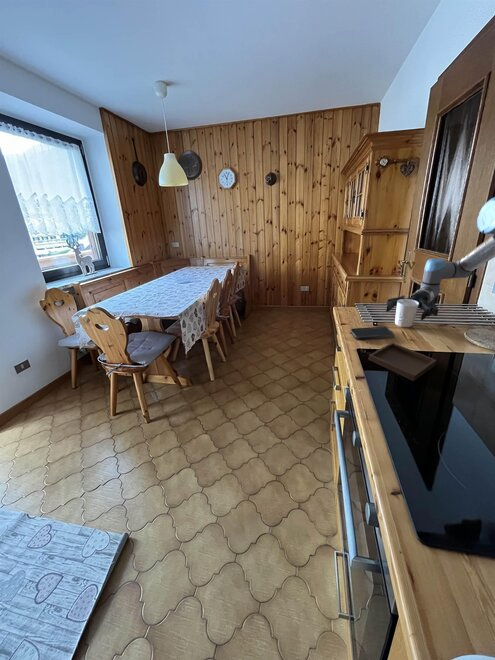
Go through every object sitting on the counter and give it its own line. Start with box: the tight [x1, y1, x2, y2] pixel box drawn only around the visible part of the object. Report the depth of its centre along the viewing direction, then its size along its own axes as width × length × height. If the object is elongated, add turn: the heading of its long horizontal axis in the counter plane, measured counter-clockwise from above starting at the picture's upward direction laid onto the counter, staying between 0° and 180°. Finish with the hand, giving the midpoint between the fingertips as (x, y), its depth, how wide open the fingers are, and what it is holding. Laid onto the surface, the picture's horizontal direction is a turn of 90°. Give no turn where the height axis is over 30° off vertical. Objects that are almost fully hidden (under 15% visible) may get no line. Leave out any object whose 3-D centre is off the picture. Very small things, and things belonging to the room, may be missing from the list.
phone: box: [350, 325, 395, 341], centre depth 114 cm, size 8×1×15 cm
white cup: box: [394, 299, 419, 328], centre depth 119 cm, size 8×8×10 cm
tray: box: [368, 342, 437, 382], centre depth 96 cm, size 16×14×2 cm
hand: (404, 312), depth 117 cm, fingers open, 13 cm apart
